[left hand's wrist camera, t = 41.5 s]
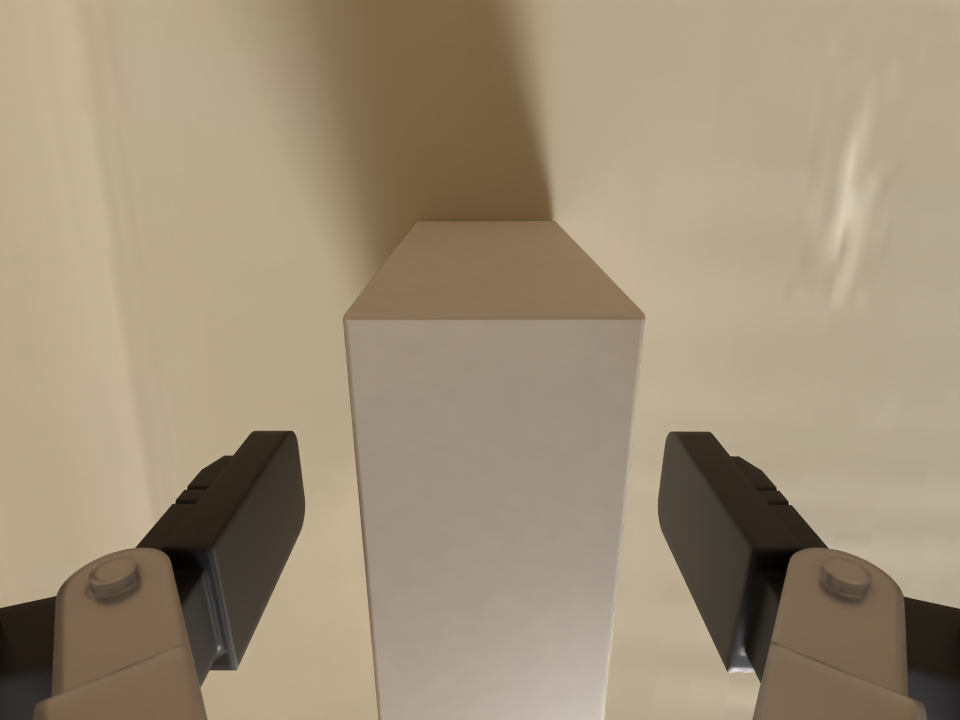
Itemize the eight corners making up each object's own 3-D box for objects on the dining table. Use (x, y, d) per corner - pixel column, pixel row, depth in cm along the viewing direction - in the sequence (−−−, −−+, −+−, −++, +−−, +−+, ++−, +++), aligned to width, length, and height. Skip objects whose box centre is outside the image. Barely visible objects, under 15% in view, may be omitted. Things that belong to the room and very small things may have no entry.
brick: (556, 220, 18) (647, 313, 8) (545, 458, 21) (603, 733, 11) (415, 220, 18) (340, 313, 8) (425, 459, 21) (378, 733, 11)
